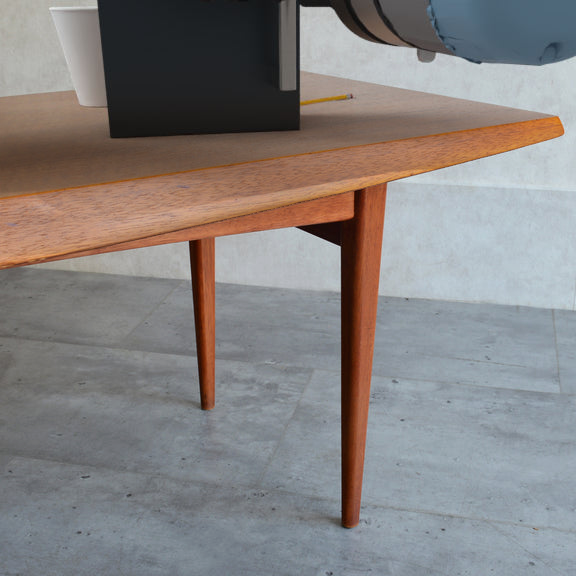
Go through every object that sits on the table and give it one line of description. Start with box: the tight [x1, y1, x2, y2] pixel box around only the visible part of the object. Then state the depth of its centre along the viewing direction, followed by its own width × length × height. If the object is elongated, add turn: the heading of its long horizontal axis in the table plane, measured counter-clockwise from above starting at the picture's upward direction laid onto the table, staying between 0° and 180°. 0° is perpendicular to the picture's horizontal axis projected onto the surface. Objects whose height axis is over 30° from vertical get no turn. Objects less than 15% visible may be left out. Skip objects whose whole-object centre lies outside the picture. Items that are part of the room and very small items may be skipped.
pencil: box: [300, 93, 354, 107], centre depth 100 cm, size 1×13×1 cm, turn 138°
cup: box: [48, 5, 107, 108], centre depth 99 cm, size 12×12×12 cm
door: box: [96, 0, 301, 139], centre depth 71 cm, size 7×20×20 cm, turn 102°
